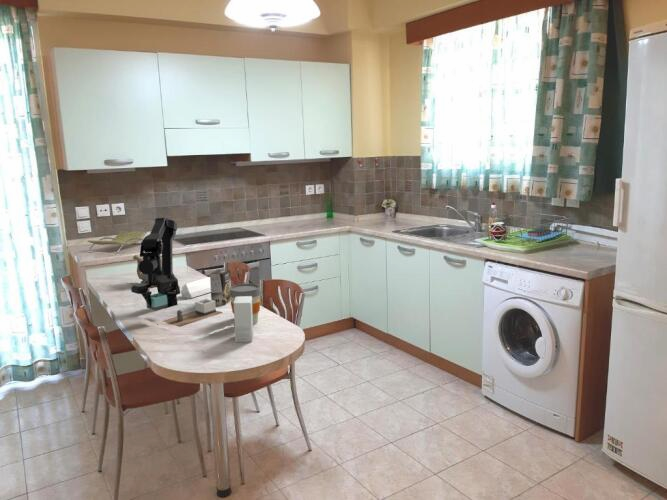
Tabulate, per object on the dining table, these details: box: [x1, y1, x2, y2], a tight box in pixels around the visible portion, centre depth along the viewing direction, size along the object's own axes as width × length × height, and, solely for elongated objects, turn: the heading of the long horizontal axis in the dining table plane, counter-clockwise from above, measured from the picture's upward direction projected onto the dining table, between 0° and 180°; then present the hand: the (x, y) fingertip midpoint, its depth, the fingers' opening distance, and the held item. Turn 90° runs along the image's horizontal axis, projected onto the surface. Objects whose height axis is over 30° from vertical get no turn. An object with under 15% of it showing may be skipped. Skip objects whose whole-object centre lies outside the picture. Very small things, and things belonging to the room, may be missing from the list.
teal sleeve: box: [145, 292, 168, 311], centre depth 219 cm, size 6×6×5 cm
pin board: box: [162, 302, 223, 327], centre depth 221 cm, size 12×22×6 cm, turn 142°
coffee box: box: [209, 268, 232, 307], centre depth 240 cm, size 9×6×16 cm
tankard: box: [132, 254, 162, 286], centre depth 282 cm, size 20×13×15 cm, turn 58°
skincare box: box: [233, 296, 254, 344], centre depth 198 cm, size 8×7×16 cm
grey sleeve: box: [194, 298, 217, 316], centre depth 226 cm, size 6×6×5 cm
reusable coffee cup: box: [230, 283, 262, 326], centre depth 216 cm, size 13×13×15 cm
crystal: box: [180, 276, 211, 299], centre depth 263 cm, size 7×7×24 cm
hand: (157, 304), depth 220 cm, fingers closed on teal sleeve, 6 cm apart
